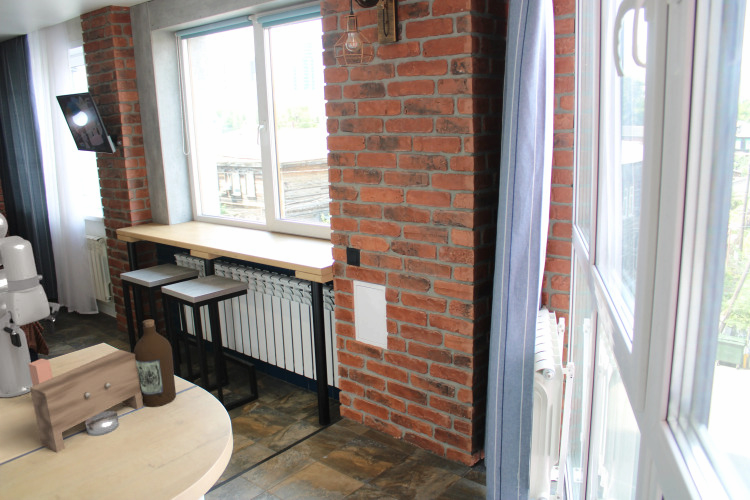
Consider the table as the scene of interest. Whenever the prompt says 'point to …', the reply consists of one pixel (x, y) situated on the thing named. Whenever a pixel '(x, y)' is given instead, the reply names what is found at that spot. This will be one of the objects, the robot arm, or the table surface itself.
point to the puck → (102, 423)
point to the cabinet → (84, 395)
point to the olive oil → (155, 367)
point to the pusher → (40, 371)
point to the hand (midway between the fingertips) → (34, 340)
